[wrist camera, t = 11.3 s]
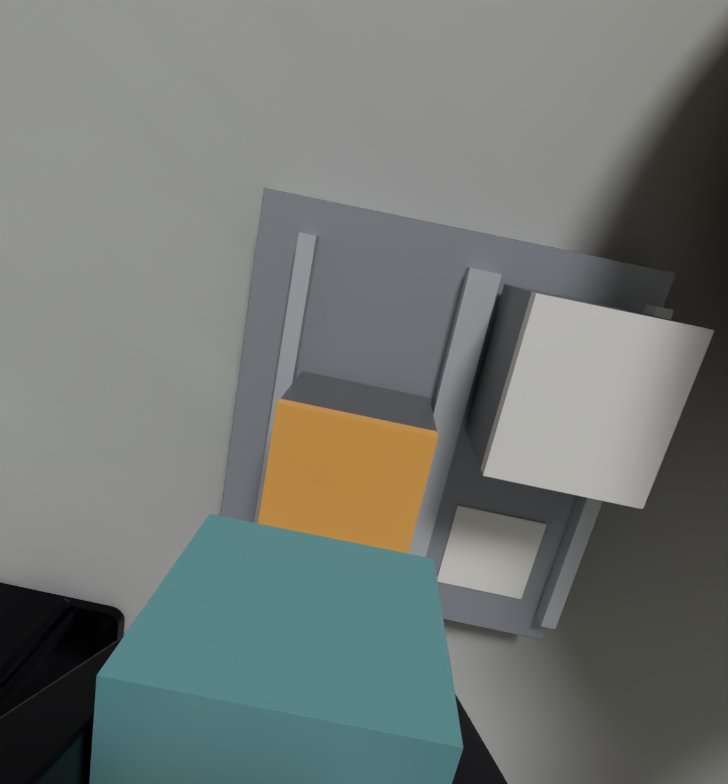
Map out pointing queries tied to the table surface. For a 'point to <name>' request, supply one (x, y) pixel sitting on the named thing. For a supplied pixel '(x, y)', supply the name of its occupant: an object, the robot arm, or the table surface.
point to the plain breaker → (581, 395)
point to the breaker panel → (421, 380)
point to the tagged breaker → (348, 461)
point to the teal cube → (281, 668)
